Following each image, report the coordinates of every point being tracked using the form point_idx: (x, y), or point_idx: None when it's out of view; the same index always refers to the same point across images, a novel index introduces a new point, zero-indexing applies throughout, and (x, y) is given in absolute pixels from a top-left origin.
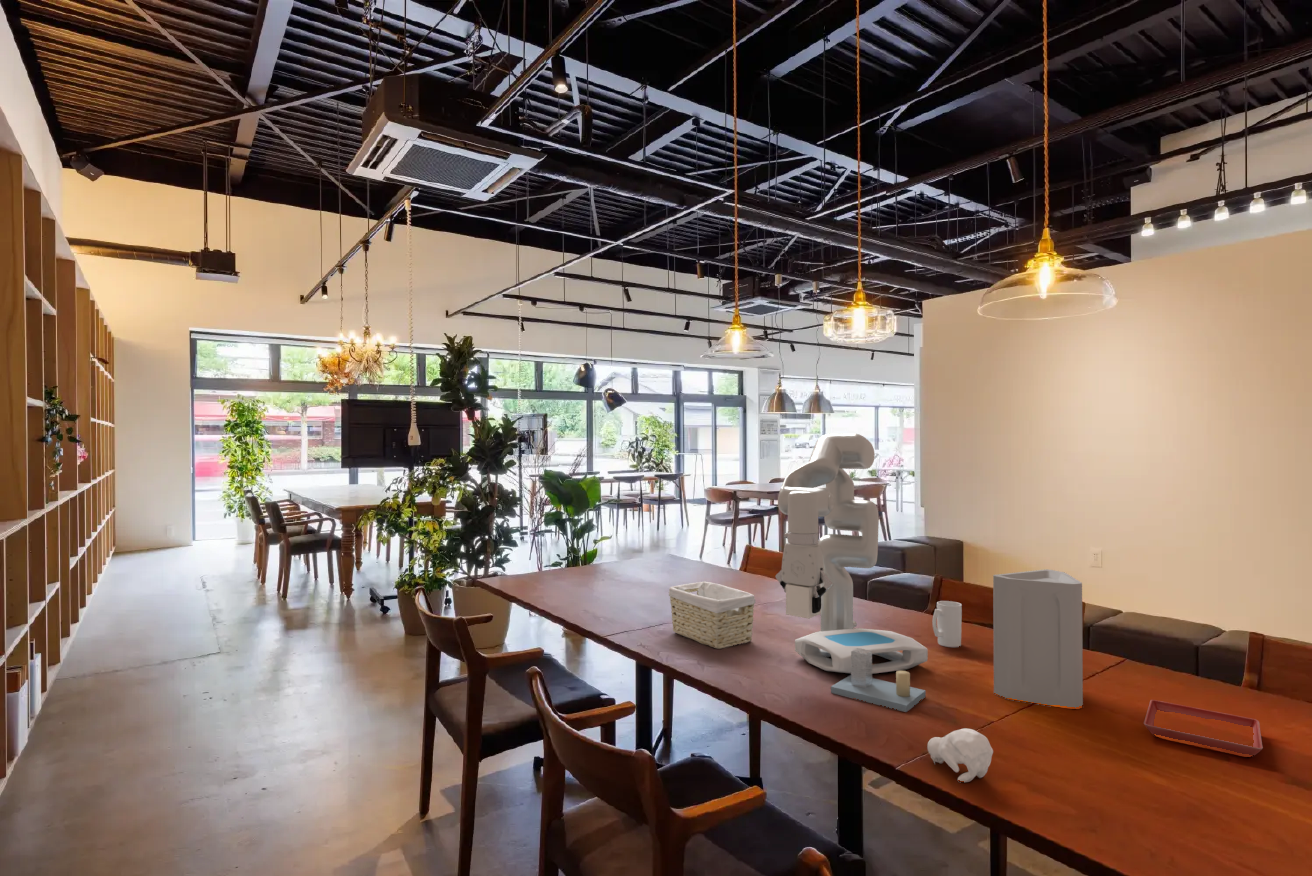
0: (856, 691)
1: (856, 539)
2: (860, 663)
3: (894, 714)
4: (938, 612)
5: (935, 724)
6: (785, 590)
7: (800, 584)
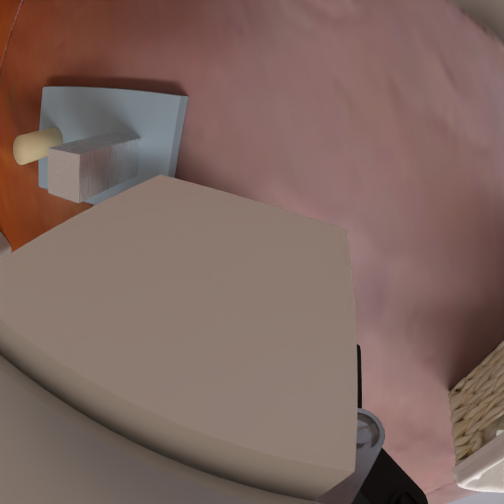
0: (121, 98)
1: None
2: (79, 144)
3: (64, 63)
4: None
5: (23, 70)
6: (368, 433)
7: (41, 402)
